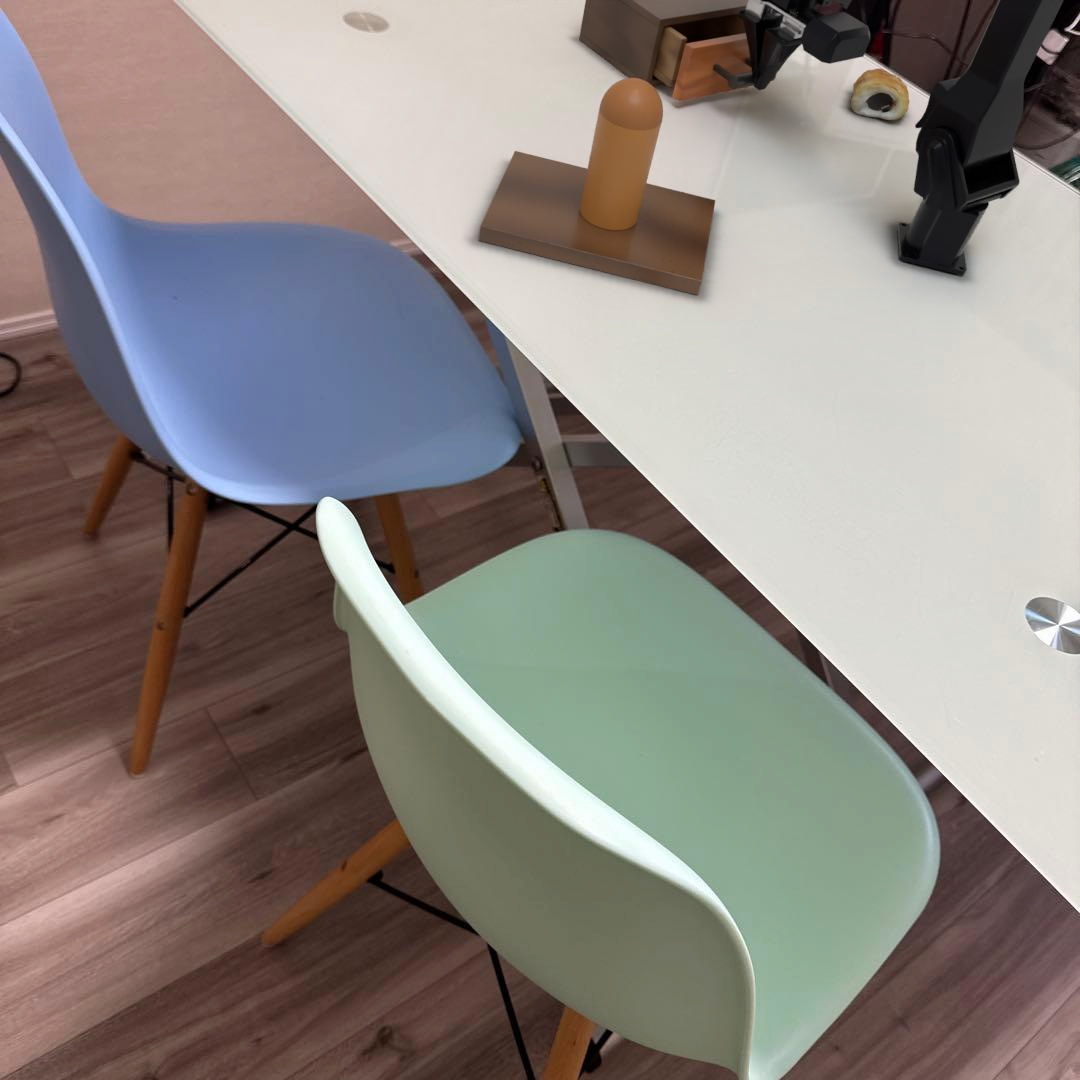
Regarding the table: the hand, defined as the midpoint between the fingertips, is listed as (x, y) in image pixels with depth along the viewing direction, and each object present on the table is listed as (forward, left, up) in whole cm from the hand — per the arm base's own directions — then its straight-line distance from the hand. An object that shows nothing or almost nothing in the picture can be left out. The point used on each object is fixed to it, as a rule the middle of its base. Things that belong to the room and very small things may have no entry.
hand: (759, 88), depth 107 cm
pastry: (+12, -15, -4) cm, 19 cm away
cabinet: (+11, +12, -4) cm, 17 cm away
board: (-28, +12, -4) cm, 31 cm away
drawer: (+6, +6, -3) cm, 9 cm away
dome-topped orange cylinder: (-28, +12, -2) cm, 31 cm away
